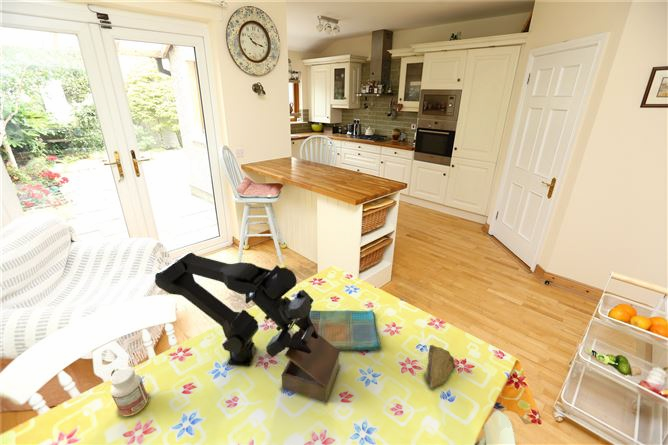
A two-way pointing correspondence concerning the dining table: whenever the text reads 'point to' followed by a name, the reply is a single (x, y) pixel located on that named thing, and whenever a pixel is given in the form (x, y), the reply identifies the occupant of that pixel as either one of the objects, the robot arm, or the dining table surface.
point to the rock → (438, 366)
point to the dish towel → (347, 329)
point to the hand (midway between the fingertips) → (314, 345)
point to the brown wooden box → (306, 382)
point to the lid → (315, 356)
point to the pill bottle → (128, 391)
